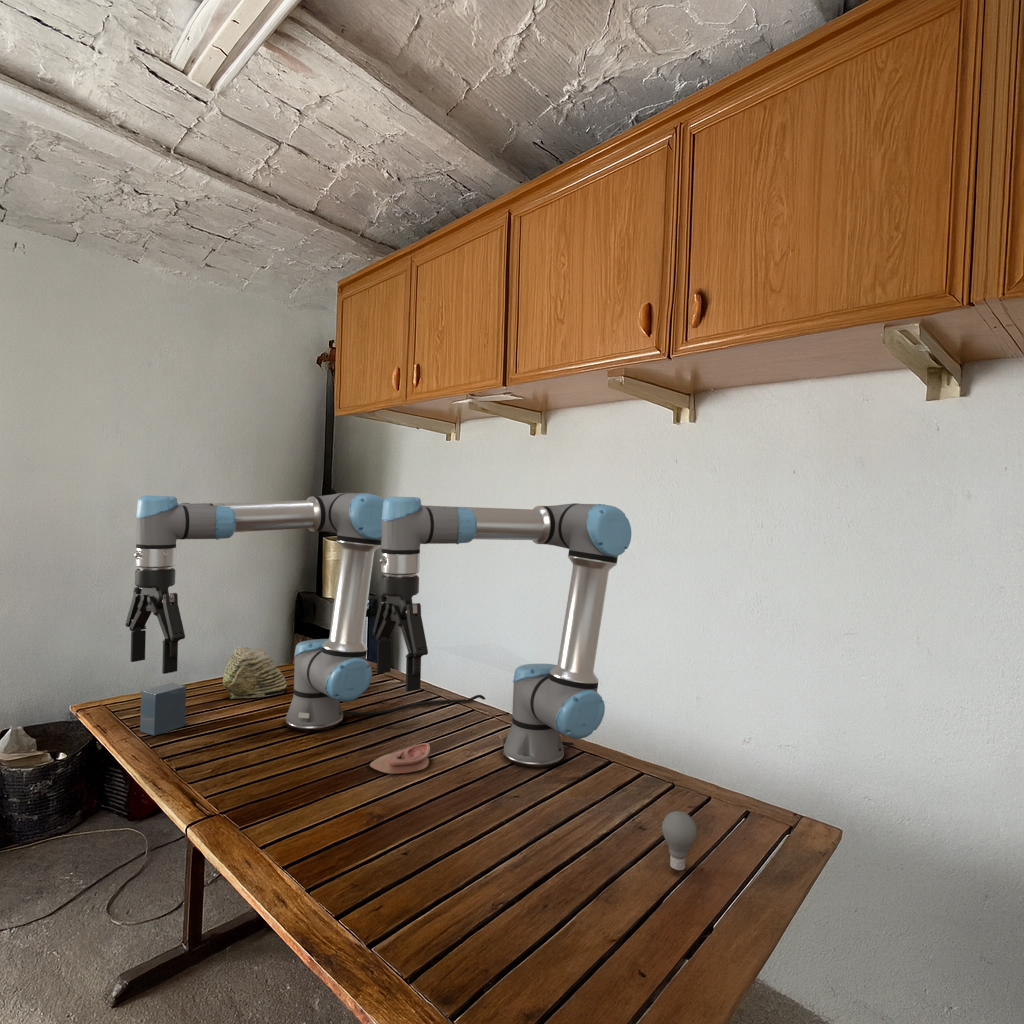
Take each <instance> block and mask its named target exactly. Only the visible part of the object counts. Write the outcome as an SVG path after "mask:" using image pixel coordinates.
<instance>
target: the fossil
mask: <svg viewBox="0 0 1024 1024" xmlns="http://www.w3.org/2000/svg"><path fill="white" fill-rule="evenodd" d="M222 676H223V677H222V685H223V687H224V688H225V690H226V691H228V693H229V698H230V699H250V698H264V697H271V696H275V695H281V694H284V693H285V691H286V689H287V687H288V686H287V680H286V678H285V676H284V674H283V673H282V672H281V669H279V668H278V667H277V665H276V663H275V662H274V660H273V659H272V658H271V657H270V656H269V655H268V654H267V653H266V652H265V650H264V649H263V648H260V647H258V648H251V647H247V646H246V647H245V646H238V647H237V648H236V649H235V650H233V651H232V653H231V656H230V657H229V659H228V660H227V663H226V666H225V668H224V671H223V675H222Z"/></svg>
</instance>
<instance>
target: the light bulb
mask: <svg viewBox="0 0 1024 1024" xmlns="http://www.w3.org/2000/svg"><path fill="white" fill-rule="evenodd" d="M661 831H662V836H663V837H664V839H665V842H666V844H667V847H668V852H669V855H670V858H669V859H670V860H669V866H670V867H671V868H672V869H674V870H676V871H683V870H685V869H686V858H687V856H688V854H689V850H690V848H691V847H692V846H693V844H694V842H695V841H696V838H697V835H698V830H697V824H696V823H695V821H694V820H693V818H692V817H691V816H690V815H689V814H688V813H687V812H684V811H680V810H674V811H671V812H669V813H668V814H667V815H666V816H665V817H664V818H663V821H662V824H661Z"/></svg>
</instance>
